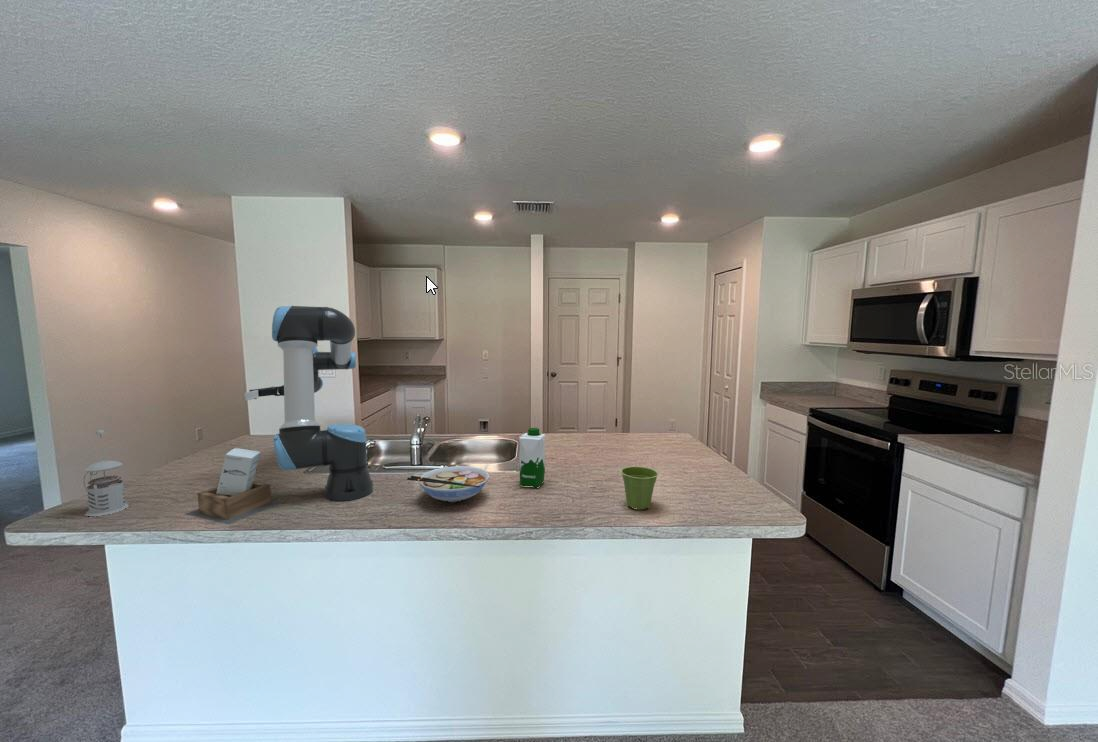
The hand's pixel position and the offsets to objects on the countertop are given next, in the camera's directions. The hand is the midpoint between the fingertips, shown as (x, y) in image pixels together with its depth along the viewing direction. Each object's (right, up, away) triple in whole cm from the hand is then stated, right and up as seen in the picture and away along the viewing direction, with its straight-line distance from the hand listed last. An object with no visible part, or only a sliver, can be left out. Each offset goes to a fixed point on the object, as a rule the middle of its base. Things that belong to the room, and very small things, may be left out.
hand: (266, 396), depth 150 cm
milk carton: (+92, -32, +6) cm, 98 cm away
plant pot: (+127, -35, -12) cm, 132 cm away
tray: (+2, -33, -17) cm, 37 cm away
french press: (-37, -34, -18) cm, 54 cm away
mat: (+2, -34, -17) cm, 38 cm away
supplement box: (+1, -28, -17) cm, 33 cm away
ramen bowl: (+67, -34, -7) cm, 75 cm away
